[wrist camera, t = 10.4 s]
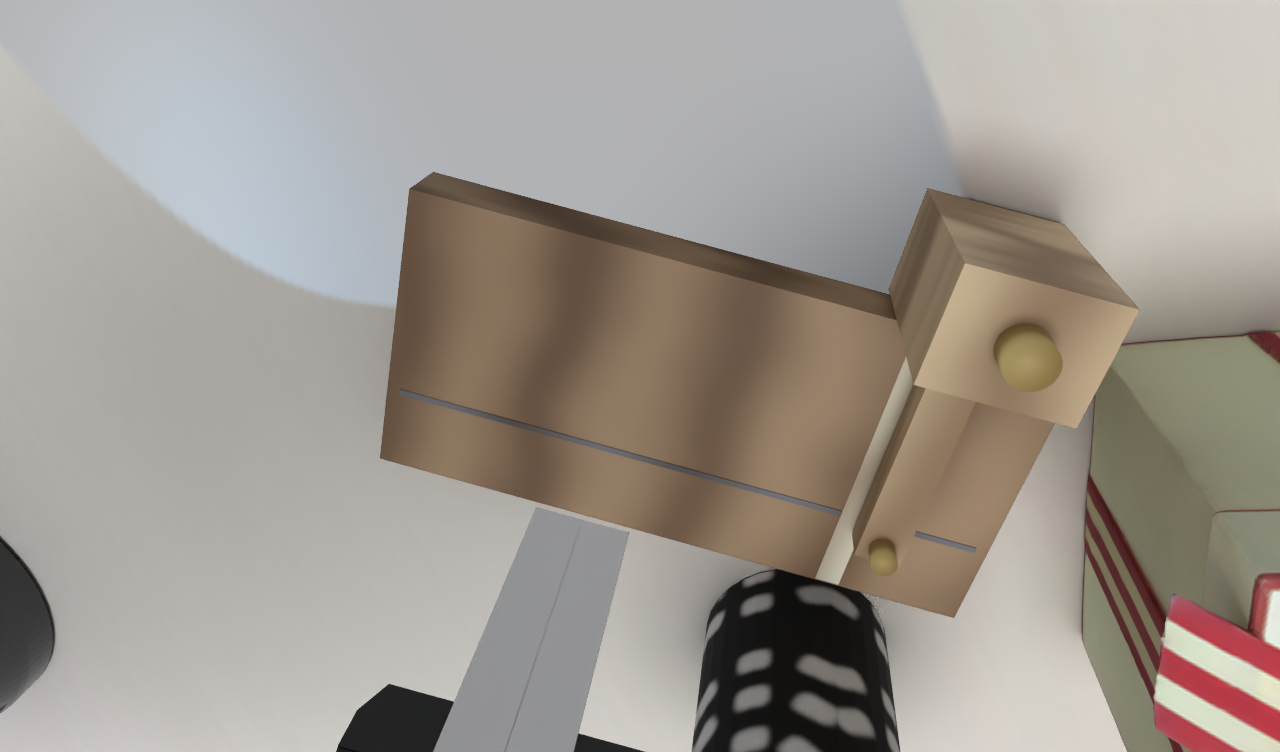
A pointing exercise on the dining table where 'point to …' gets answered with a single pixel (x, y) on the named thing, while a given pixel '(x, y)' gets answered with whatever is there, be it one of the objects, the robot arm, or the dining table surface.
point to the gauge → (985, 345)
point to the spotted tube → (794, 670)
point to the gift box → (1187, 544)
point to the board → (674, 392)
